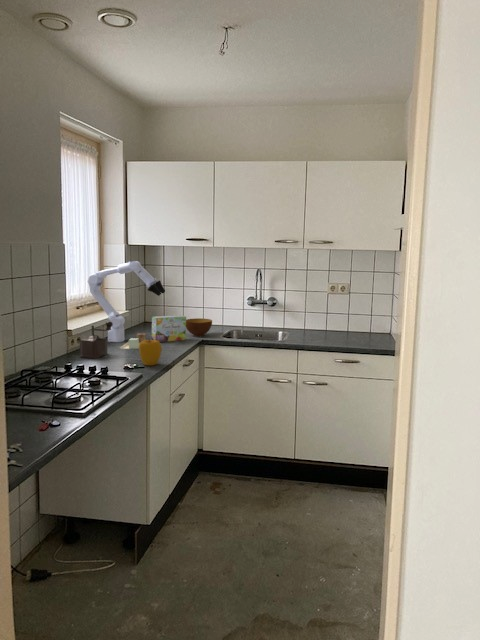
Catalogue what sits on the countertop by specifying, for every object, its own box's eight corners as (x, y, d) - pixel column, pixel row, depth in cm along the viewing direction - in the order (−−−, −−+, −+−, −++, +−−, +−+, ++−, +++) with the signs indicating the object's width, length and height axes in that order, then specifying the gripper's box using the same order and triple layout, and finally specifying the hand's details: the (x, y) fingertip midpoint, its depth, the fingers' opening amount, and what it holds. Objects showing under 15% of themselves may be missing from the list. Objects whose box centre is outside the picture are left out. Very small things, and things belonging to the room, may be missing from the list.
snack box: (155, 342, 317) (156, 317, 315) (151, 341, 321) (151, 316, 319) (185, 340, 330) (186, 316, 328) (180, 338, 334) (181, 314, 333)
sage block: (129, 348, 302) (128, 339, 301) (131, 346, 306) (131, 338, 305) (136, 348, 301) (136, 339, 300) (139, 346, 306) (138, 338, 305)
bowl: (187, 339, 335) (187, 323, 333) (182, 334, 351) (182, 318, 350) (214, 337, 339) (214, 322, 338) (209, 332, 356) (208, 318, 355)
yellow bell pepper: (163, 362, 273) (162, 337, 271) (159, 367, 262) (159, 341, 260) (141, 361, 273) (140, 337, 271) (137, 367, 262) (136, 341, 260)
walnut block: (136, 342, 317) (136, 334, 317) (138, 341, 322) (138, 333, 321) (144, 343, 317) (143, 334, 316) (146, 341, 321) (145, 333, 321)
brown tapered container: (95, 359, 278) (94, 325, 276) (79, 357, 283) (78, 323, 281) (115, 353, 292) (114, 321, 289) (100, 351, 297) (99, 319, 294)
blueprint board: (118, 349, 302) (118, 348, 302) (130, 341, 326) (130, 340, 325) (148, 350, 301) (148, 348, 300) (158, 342, 324) (158, 340, 324)
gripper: (146, 274, 308) (162, 291, 309) (154, 270, 322) (170, 286, 323) (138, 282, 310) (154, 299, 311) (146, 278, 324) (162, 294, 325)
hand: (162, 293), depth 317 cm, fingers open, 7 cm apart
